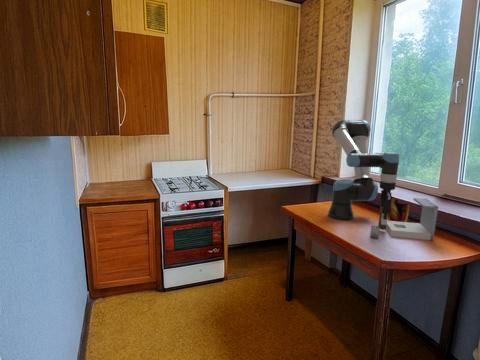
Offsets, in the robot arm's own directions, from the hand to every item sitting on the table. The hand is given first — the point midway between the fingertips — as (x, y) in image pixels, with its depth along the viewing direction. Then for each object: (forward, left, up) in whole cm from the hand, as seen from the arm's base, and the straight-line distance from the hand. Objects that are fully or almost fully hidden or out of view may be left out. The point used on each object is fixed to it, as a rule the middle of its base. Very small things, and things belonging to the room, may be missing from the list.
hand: (382, 222), depth 163 cm
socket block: (-1, +13, -5) cm, 14 cm away
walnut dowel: (0, 0, -3) cm, 3 cm away
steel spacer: (+11, -6, -5) cm, 13 cm away
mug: (-21, +15, -5) cm, 27 cm away
